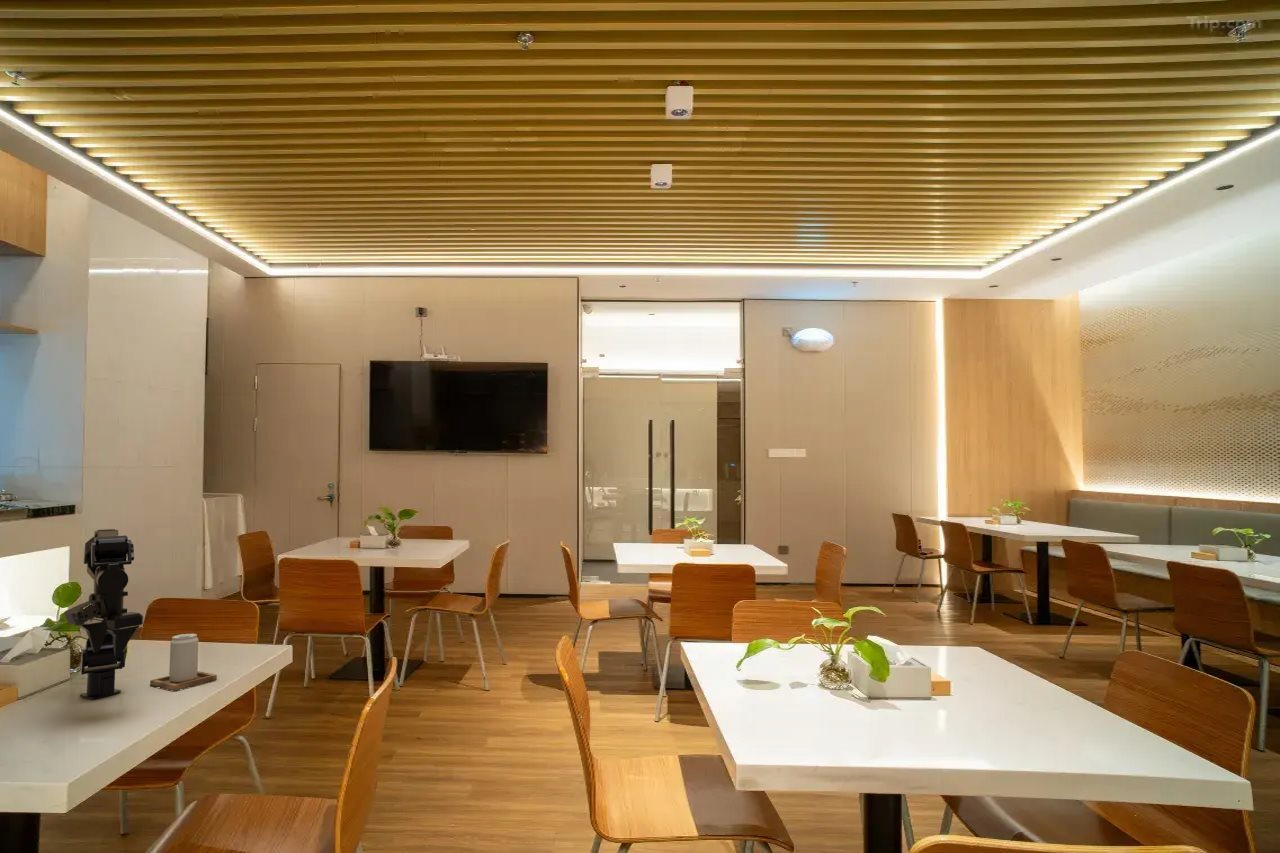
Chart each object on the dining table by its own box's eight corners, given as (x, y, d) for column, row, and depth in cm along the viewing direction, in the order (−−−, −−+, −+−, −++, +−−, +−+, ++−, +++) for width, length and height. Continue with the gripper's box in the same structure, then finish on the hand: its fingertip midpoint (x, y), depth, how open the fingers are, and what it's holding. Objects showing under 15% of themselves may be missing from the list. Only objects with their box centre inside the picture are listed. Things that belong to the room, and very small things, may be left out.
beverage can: (167, 685, 188) (169, 639, 188) (170, 679, 193) (171, 634, 194) (196, 682, 191) (197, 636, 191) (197, 676, 196) (199, 631, 197)
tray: (150, 686, 189) (150, 680, 189) (192, 675, 199) (192, 670, 199) (174, 691, 184) (175, 685, 184) (216, 680, 194) (216, 674, 194)
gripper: (49, 590, 169) (46, 658, 168) (92, 596, 161) (89, 667, 160) (102, 584, 179) (99, 647, 178) (145, 589, 171) (143, 655, 170)
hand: (106, 654), depth 171 cm, fingers open, 9 cm apart
